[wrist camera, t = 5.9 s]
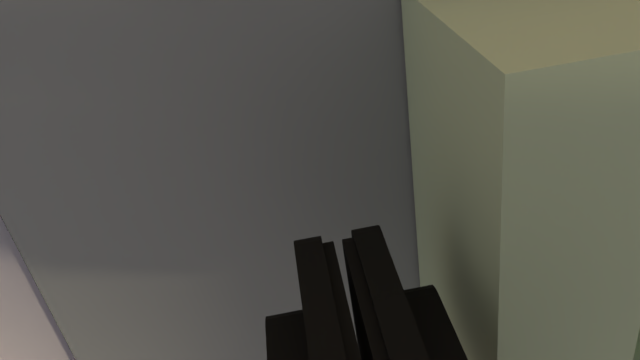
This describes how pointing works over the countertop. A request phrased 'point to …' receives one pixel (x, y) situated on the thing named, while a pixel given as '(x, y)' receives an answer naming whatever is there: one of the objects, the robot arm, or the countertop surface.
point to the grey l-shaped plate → (197, 161)
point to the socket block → (528, 172)
